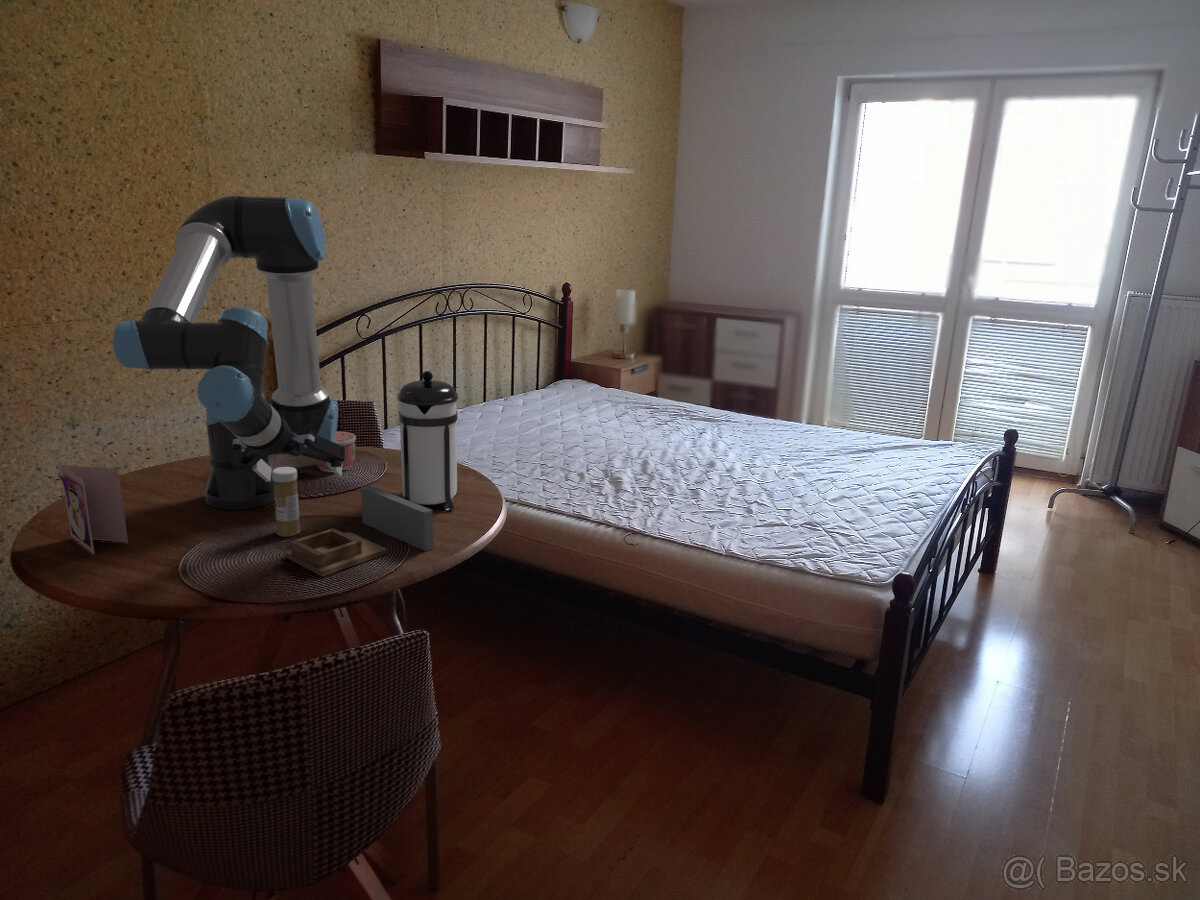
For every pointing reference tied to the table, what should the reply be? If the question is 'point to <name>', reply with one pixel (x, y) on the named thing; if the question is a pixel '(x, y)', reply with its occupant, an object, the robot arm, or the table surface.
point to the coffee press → (428, 441)
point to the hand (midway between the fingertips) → (304, 472)
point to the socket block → (332, 551)
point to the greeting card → (94, 504)
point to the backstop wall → (397, 517)
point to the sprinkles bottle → (286, 501)
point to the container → (349, 444)
